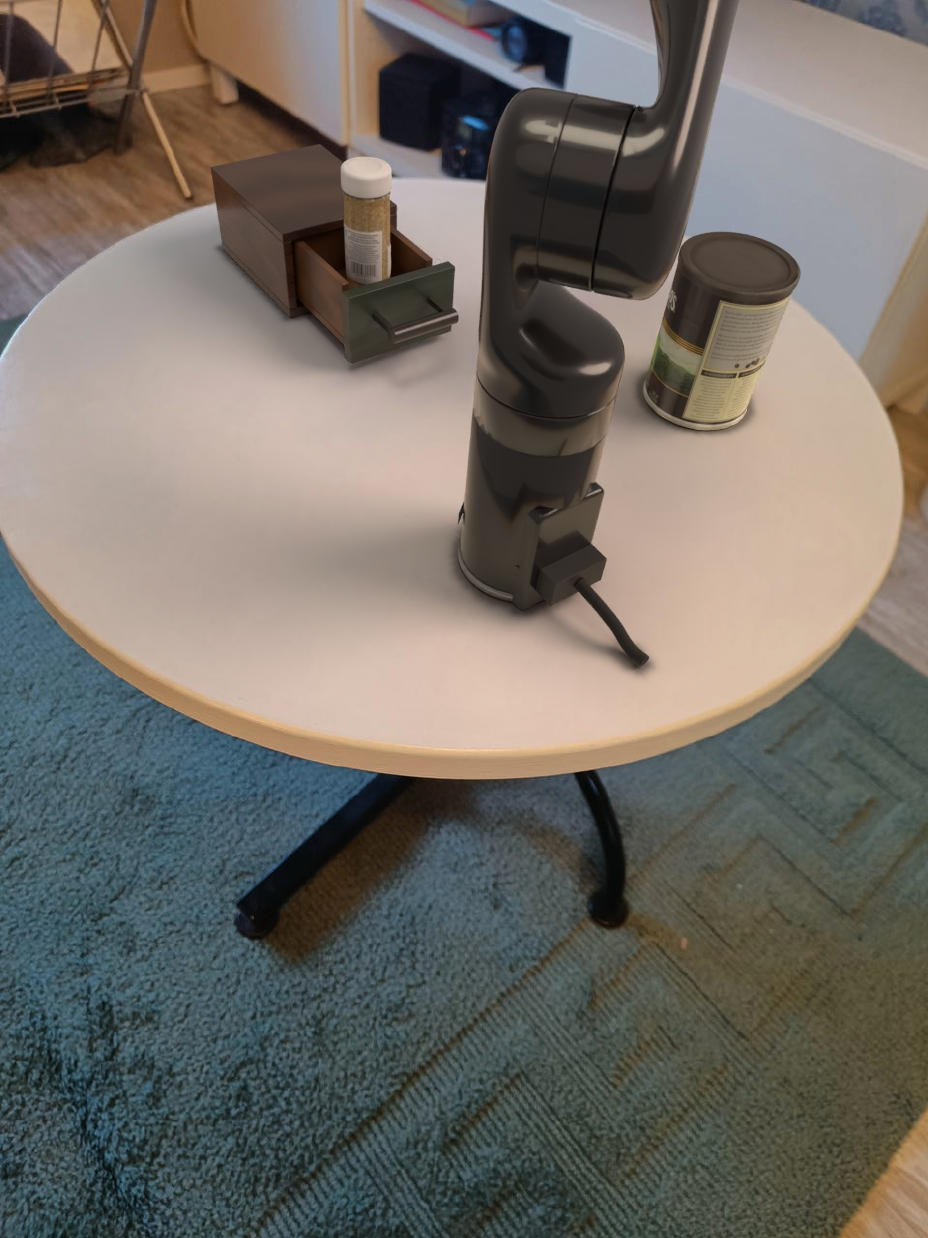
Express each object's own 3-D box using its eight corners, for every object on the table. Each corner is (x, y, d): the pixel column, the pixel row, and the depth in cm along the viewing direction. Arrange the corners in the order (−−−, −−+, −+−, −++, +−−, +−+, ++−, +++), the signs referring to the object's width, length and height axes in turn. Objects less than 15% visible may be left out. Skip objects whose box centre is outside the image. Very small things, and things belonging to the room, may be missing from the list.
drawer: (475, 352, 85) (481, 287, 80) (374, 387, 80) (373, 321, 75) (375, 264, 94) (374, 201, 89) (279, 292, 90) (272, 226, 84)
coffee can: (627, 409, 82) (664, 269, 72) (660, 355, 89) (698, 219, 78) (732, 445, 80) (786, 305, 69) (759, 387, 86) (812, 251, 75)
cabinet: (396, 286, 94) (397, 204, 87) (290, 318, 88) (282, 233, 82) (324, 222, 101) (319, 143, 95) (222, 248, 96) (210, 166, 89)
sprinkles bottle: (399, 300, 88) (401, 162, 78) (376, 321, 85) (375, 181, 75) (361, 287, 89) (357, 149, 79) (337, 307, 86) (330, 167, 76)
